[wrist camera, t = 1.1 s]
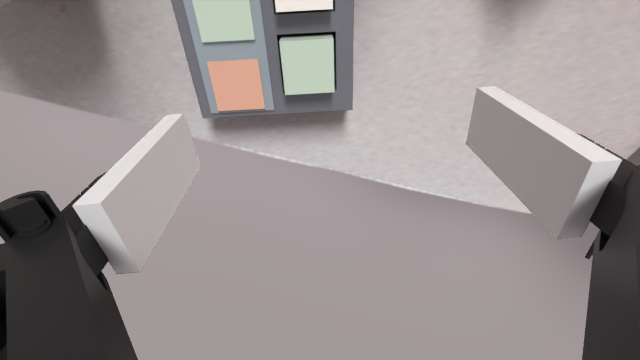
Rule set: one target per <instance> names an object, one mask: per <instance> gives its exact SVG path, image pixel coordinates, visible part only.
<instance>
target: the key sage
mask: <svg viewBox="0 0 640 360" xmlns="http://www.w3.org/2000/svg"><path fill="white" fill-rule="evenodd" d="M279 44H280V53H281V62H282V71H283V80H284V90H285V95H295V94H313V93H331V92H335V89H334V39H333V36H332V34H317V35H299V36H281V39H280V41H279Z"/></svg>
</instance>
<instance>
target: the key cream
mask: <svg viewBox="0 0 640 360" xmlns="http://www.w3.org/2000/svg"><path fill="white" fill-rule="evenodd" d="M275 7H276V12H289V11H307V10H325V9H333V0H275Z"/></svg>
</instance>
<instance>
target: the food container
mask: <svg viewBox="0 0 640 360" xmlns="http://www.w3.org/2000/svg"><path fill="white" fill-rule="evenodd" d="M10 1H11V0H0V7H2V6H5V5H6V4H7V3H9V2H10Z"/></svg>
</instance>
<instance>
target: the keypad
mask: <svg viewBox="0 0 640 360" xmlns="http://www.w3.org/2000/svg"><path fill="white" fill-rule="evenodd" d="M171 2H172V6H173V9H174V13H175V17H176V20H177V24H178V28H179V32H180V35H181V39H182V43H183V46H184V50H185V54H186V57H187V61H188V65H189V69H190V72H191V76H192V80H193V83H194V87H195V91H196V95H197V98H198V102H199V106H200V109H201V113H202V117H203V118H216V117H234V116H251V115H269V114H287V113H304V112H322V111H340V110H352V100H353V25H354V0H333V9H325V10H307V11H289V12H276V7H275V0H171ZM317 34H332V36H333V39H334V89H335V92H331V93H313V94H295V95H285V90H284V80H283V71H282V62H281V53H280V44H279V41H280V39H281V36H299V35H317Z"/></svg>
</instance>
